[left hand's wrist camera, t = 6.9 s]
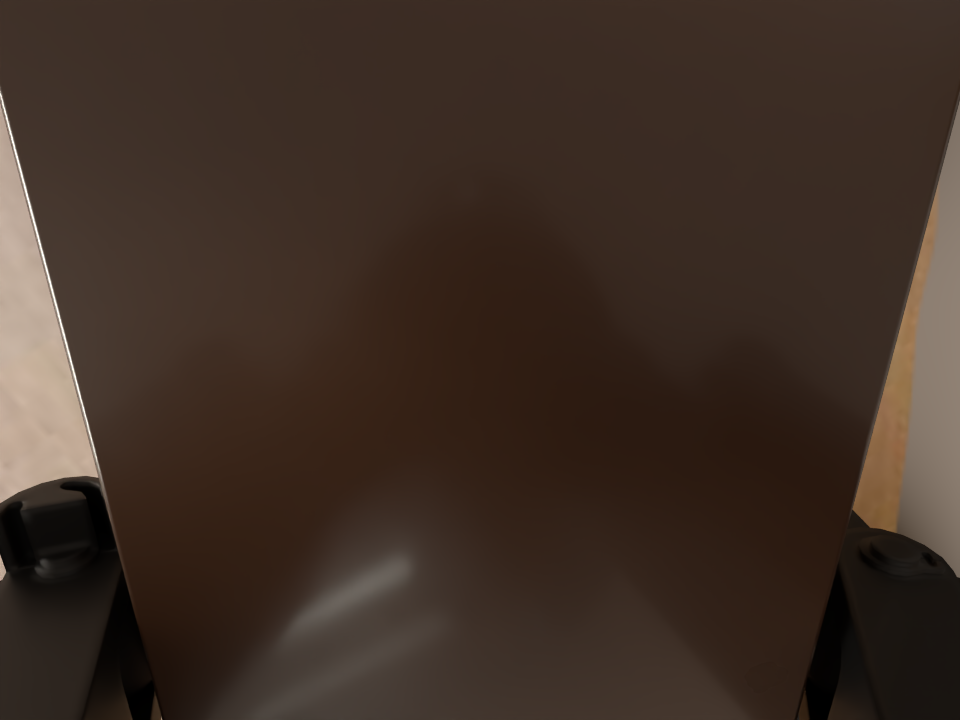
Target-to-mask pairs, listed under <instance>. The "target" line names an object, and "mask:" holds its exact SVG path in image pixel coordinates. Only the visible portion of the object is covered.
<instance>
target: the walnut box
mask: <svg viewBox="0 0 960 720" xmlns="http://www.w3.org/2000/svg"><path fill="white" fill-rule="evenodd" d="M959 101H960V0H0V104H1V108H2V111H3V115H4V119H5V123H6V127H7V130H8V134H9V138H10V142H11V146H12V149H13V153H14V157H15V161H16V165H17V169H18V172H19V176H20V180H21V184H22V188H23V191H24V195H25V199H26V203H27V207H28V210H29V214H30V218H31V222H32V226H33V229H34V233H35V237H36V241H37V245H38V248H39V252H40V256H41V260H42V264H43V267H44V271H45V275H46V279H47V283H48V286H49V290H50V294H51V298H52V302H53V305H54V309H55V313H56V317H57V321H58V324H59V328H60V332H61V336H62V340H63V343H64V347H65V351H66V355H67V359H68V363H69V366H70V370H71V374H72V378H73V382H74V385H75V389H76V393H77V397H78V401H79V404H80V408H81V412H82V416H83V420H84V423H85V427H86V431H87V435H88V439H89V442H90V446H91V450H92V454H93V458H94V461H95V465H96V469H97V473H98V477H99V480H100V484H101V488H102V492H103V496H104V499H105V503H106V507H107V511H108V515H109V518H110V522H111V526H112V530H113V534H114V537H115V541H116V545H117V549H118V553H119V556H120V560H121V564H122V568H123V572H124V576H125V579H126V583H127V587H128V591H129V595H130V598H131V602H132V606H133V610H134V614H135V617H136V621H137V625H138V629H139V633H140V636H141V640H142V644H143V648H144V652H145V655H146V659H147V663H148V667H149V671H150V674H151V678H152V682H153V686H154V690H155V693H156V697H157V701H158V705H159V709H160V712H161V716H162V720H797V718H798V714H799V710H800V706H801V702H802V699H803V695H804V691H805V687H806V683H807V680H808V676H809V672H810V668H811V664H812V661H813V657H814V653H815V649H816V645H817V642H818V638H819V634H820V630H821V626H822V622H823V619H824V615H825V611H826V607H827V603H828V600H829V596H830V592H831V588H832V584H833V581H834V577H835V573H836V569H837V565H838V562H839V558H840V554H841V550H842V546H843V543H844V539H845V535H846V531H847V527H848V524H849V520H850V516H851V512H852V508H853V504H854V501H855V497H856V493H857V489H858V485H859V482H860V478H861V474H862V470H863V466H864V463H865V459H866V455H867V451H868V447H869V444H870V440H871V436H872V432H873V428H874V425H875V421H876V417H877V413H878V409H879V405H880V402H881V398H882V394H883V390H884V386H885V383H886V379H887V375H888V371H889V367H890V364H891V360H892V356H893V352H894V348H895V345H896V341H897V337H898V333H899V329H900V326H901V322H902V318H903V314H904V310H905V307H906V303H907V299H908V295H909V291H910V287H911V284H912V280H913V276H914V272H915V268H916V265H917V261H918V257H919V253H920V249H921V246H922V242H923V238H924V234H925V230H926V227H927V223H928V219H929V215H930V211H931V208H932V204H933V200H934V196H935V192H936V189H937V185H938V181H939V177H940V173H941V169H942V166H943V162H944V158H945V154H946V150H947V147H948V143H949V139H950V135H951V131H952V127H953V124H954V120H955V116H956V112H957V109H958V105H959Z"/></svg>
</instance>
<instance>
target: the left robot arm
mask: <svg viewBox="0 0 960 720" xmlns="http://www.w3.org/2000/svg"><path fill="white" fill-rule="evenodd" d="M0 555H1V558H2V561H3V564H4V566H5V569H6V574H5V576H4V578H3V580H1V581H0V720H161V712H160V709H159V705H158V701H157V697H156V693H155V690H154V686H153V682H152V678H151V674H150V671H149V667H148V663H147V659H146V655H145V652H144V648H143V644H142V640H141V636H140V633H139V629H138V625H137V621H136V617H135V614H134V610H133V606H132V602H131V598H130V595H129V591H128V587H127V583H126V579H125V576H124V572H123V568H122V564H121V560H120V556H119V553H118V549H117V545H116V541H115V537H114V534H113V530H112V526H111V522H110V518H109V515H108V511H107V507H106V503H105V499H104V496H103V492H102V488H101V484H100V480H99V478H96V477H89V476H81V477H69V478H62V479H58V480H54V481H50V482H45V483H41V484H39V485H36V486H34V487H31V488H29V489H26V490H24V491H21V492H18V493H17V494H15V495H13V496H12V497H10V498H8V499H7V500H5V501H3V502H2V503H0ZM797 720H960V578H958V577H956V575H955V573H954V571H953V570H952V569H951V567H950V566H949V565H948V564H947V563H946V561H945V560H944V559H943V558H942V557H941V556H939V555H938V554H936V553H935V552H934V551H932V550H931V549H929V548H928V547H926V546H925V545H923V544H921V543H919V542H917V541H914V540H912V539H910V538H908V537H906V536H903V535H901V534H897V533H893V532H890V531H886V530H883V529H876V528H870V527H869V526H868V525H867V524H866V523H865V522H864V521H863V520H862V519H861V518H860V517H859V516H858V515H857V514H856V513H855V512H854V511H853V510H852V512H851V516H850V520H849V524H848V527H847V531H846V535H845V539H844V543H843V546H842V550H841V554H840V558H839V562H838V565H837V569H836V573H835V577H834V581H833V584H832V588H831V592H830V596H829V600H828V603H827V607H826V611H825V615H824V619H823V622H822V626H821V630H820V634H819V638H818V642H817V645H816V649H815V653H814V657H813V661H812V664H811V668H810V672H809V676H808V680H807V683H806V687H805V691H804V695H803V699H802V702H801V706H800V710H799V714H798V718H797Z"/></svg>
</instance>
